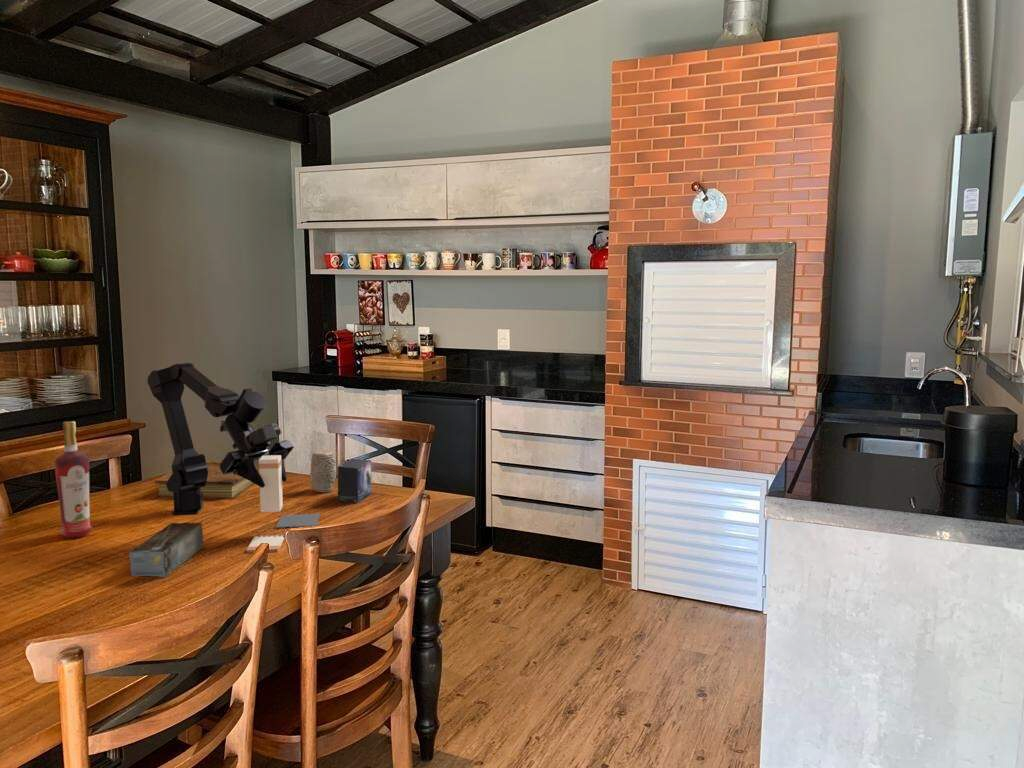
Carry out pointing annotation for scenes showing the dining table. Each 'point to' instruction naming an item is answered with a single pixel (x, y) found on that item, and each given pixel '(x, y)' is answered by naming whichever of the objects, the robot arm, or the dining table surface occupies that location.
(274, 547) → the cream block pink end
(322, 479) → the carving
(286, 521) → the mat
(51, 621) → the dining table surface
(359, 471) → the small box
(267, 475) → the beige tall block
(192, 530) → the grey piece
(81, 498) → the liquor
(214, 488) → the diary
